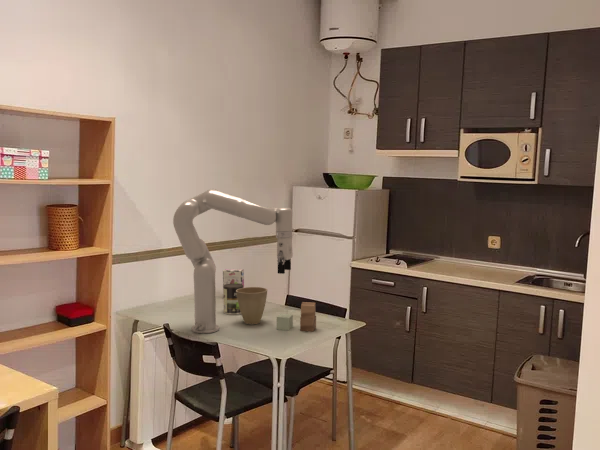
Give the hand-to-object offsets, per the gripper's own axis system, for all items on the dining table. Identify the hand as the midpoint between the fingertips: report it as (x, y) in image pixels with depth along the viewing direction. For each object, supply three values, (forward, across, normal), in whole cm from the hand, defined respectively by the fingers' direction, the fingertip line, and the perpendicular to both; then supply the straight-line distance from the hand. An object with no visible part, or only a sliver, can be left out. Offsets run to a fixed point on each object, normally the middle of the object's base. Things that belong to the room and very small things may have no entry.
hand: (284, 271), depth 273 cm
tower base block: (+27, 0, -11) cm, 29 cm away
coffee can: (+27, +21, +34) cm, 48 cm away
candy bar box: (+27, +51, +45) cm, 73 cm away
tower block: (+21, 0, -11) cm, 23 cm away
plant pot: (+27, +5, +18) cm, 32 cm away
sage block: (+27, 0, 0) cm, 27 cm away
